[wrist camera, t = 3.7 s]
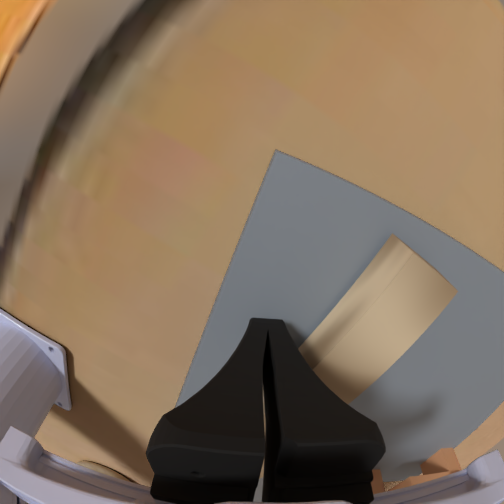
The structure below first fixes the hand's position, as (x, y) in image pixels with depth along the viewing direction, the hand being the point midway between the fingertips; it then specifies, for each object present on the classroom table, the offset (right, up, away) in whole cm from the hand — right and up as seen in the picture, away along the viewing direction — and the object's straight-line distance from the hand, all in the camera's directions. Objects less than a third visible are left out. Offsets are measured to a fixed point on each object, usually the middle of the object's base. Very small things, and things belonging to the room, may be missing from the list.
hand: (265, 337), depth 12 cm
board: (+9, -6, +5) cm, 12 cm away
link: (+1, -4, +2) cm, 4 cm away
